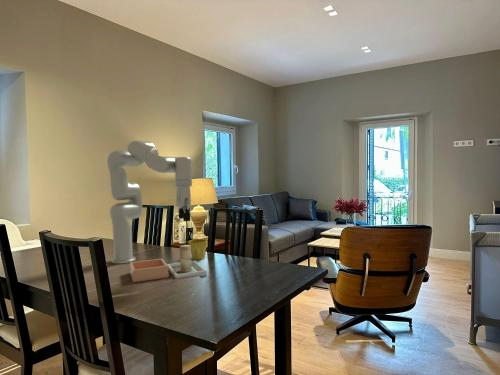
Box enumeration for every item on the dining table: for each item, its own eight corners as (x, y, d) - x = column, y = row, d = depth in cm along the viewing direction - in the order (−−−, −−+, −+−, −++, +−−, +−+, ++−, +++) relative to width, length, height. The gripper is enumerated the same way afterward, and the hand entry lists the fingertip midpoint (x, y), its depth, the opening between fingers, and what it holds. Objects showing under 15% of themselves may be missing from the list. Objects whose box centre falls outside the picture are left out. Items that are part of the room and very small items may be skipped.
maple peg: (179, 270, 165) (178, 245, 164) (190, 269, 167) (189, 244, 166) (182, 273, 160) (181, 247, 160) (192, 271, 162) (191, 246, 162)
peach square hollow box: (130, 275, 161) (129, 262, 161) (162, 270, 167) (162, 258, 167) (133, 284, 148) (132, 270, 147) (168, 279, 154) (168, 265, 153)
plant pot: (185, 259, 188) (184, 241, 188) (196, 255, 198) (196, 238, 197) (200, 261, 184) (200, 243, 183) (211, 257, 193) (211, 239, 192)
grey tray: (167, 269, 170) (167, 264, 170) (195, 265, 176) (195, 260, 175) (175, 280, 152) (175, 275, 151) (206, 276, 157) (206, 270, 157)
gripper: (171, 183, 168) (172, 218, 169) (179, 184, 152) (180, 222, 153) (187, 182, 171) (187, 217, 172) (196, 183, 155) (197, 221, 156)
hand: (184, 219), depth 163 cm, fingers open, 9 cm apart
